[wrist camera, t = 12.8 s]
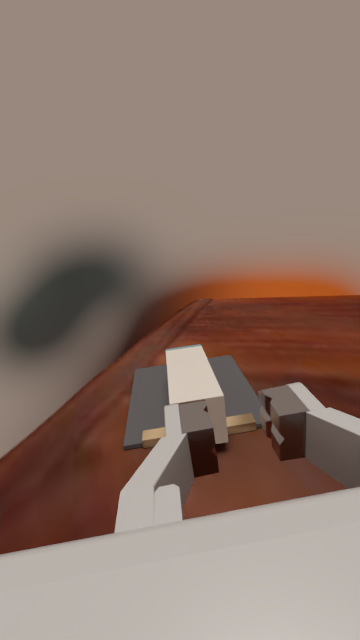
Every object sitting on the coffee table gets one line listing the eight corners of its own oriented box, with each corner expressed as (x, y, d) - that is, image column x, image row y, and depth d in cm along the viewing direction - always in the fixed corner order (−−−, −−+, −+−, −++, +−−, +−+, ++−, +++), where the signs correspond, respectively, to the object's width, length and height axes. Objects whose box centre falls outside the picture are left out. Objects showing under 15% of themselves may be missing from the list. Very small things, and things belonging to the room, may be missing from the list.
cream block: (228, 441, 26) (204, 376, 39) (223, 395, 24) (200, 344, 38) (176, 450, 25) (170, 381, 39) (169, 404, 24) (165, 349, 38)
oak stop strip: (251, 420, 30) (251, 413, 29) (256, 429, 28) (256, 421, 28) (144, 438, 29) (142, 430, 29) (143, 448, 28) (142, 440, 27)
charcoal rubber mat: (230, 357, 45) (230, 354, 45) (273, 425, 29) (273, 421, 28) (135, 372, 44) (135, 369, 44) (124, 450, 28) (123, 446, 28)
